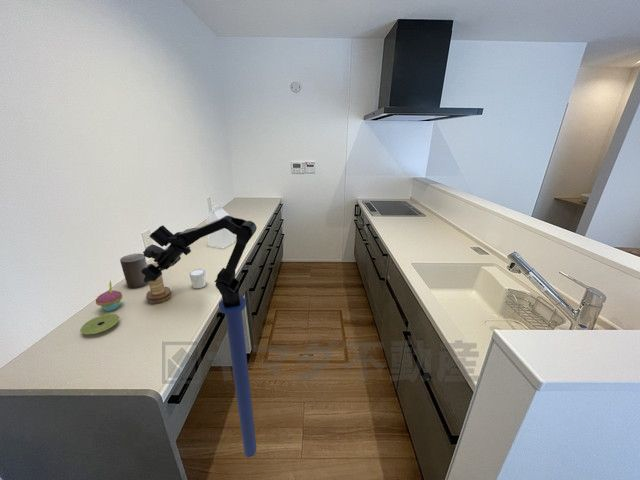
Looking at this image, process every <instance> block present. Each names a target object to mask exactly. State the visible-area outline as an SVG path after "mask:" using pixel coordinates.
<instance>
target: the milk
mask: <svg viewBox="0 0 640 480" xmlns="http://www.w3.org/2000/svg"><path fill="white" fill-rule="evenodd" d="M224 216H231V215H230V214H229V213H228V212H227V211H226V210H225V209H223V207H222V205H221V204H217V205H214V206H212V209H211V212H210V213H209V214H208V215H207V216H206V218H205V225H206V224H209V223H211V222H214V221H216V220H218V219H221V218H223V217H224ZM234 235H235V234H233V233H232V232H230V231H229V230H227V229H225V228H224V229H221V230H219V231H216V232H214V233H211V234H209V235H206V236H207V245H208V247H211V248H217V249H222V250H223V249H226V248H227V247H229V246H230V245H231V246H232V244H234V243H236V240H235V236H234Z"/></svg>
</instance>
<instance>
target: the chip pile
mask: <svg viewBox="0 0 640 480" xmlns="http://www.w3.org/2000/svg"><path fill="white" fill-rule="evenodd" d="M164 287H165V292H164V293H162V294H160V295H152V294H151V290H150V289H149V290H148V292H146V295H145V299H146V301H147V303H148V304H150V305H158V304H161V303H164V302H167V301H168V300H169V299H171V297H172V294H173V293H172V291H171V288H170V287H169V286H164Z"/></svg>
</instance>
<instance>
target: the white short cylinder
mask: <svg viewBox="0 0 640 480" xmlns="http://www.w3.org/2000/svg"><path fill="white" fill-rule="evenodd" d="M188 275H189V279H190V282H191V285H192V287H193V289H201V288H204V287H205V286H206V285H207V282H206V270H205V269H202V268H197V269H193V270H191V271H189V273H188Z"/></svg>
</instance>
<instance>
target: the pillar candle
mask: <svg viewBox="0 0 640 480" xmlns="http://www.w3.org/2000/svg"><path fill="white" fill-rule="evenodd" d="M119 261H120V265H121V269H122V273H123V275H124V279H125V283H126V286H127V288H129V289H137V288H139V289H140V288H142V287H145V286H147V285H149V282H147V283H145V282H144V278H145V275H144V274H143V273H141V270H142V269H143V268H144V267H145V266H146V265H148V263H147V259H146V257H145V256H144V253H140V252H139V253H137V252H136V253H131V254H127V255H124V256H122V257H120V259H119Z"/></svg>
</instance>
